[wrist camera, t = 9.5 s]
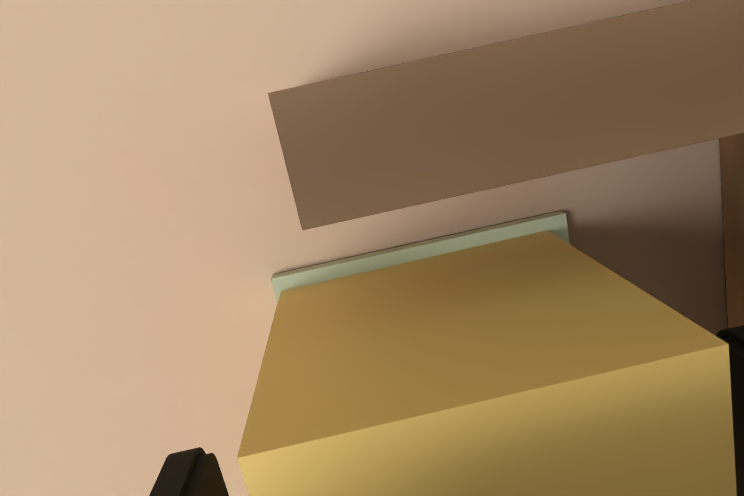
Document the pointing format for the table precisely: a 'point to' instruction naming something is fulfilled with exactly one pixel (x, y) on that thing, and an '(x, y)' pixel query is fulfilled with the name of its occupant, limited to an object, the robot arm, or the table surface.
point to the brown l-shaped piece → (518, 126)
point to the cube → (489, 384)
